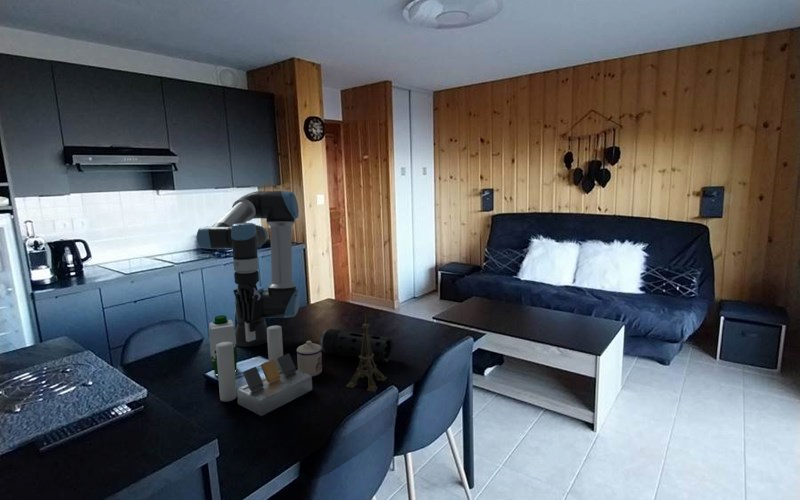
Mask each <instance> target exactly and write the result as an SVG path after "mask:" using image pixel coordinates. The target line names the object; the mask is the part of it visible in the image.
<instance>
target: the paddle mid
mask: <svg viewBox="0 0 800 500" xmlns="http://www.w3.org/2000/svg"><path fill="white" fill-rule="evenodd" d="M260 367H261V370H262V372H263V375H264V377H266V379H267V382H268V383H269V384H270V383H273V382H275V381H277V380H279V379H281V377H280V374H279V372H278V370H277V367H276V365H275V363H274V361H273V360H271V361H269V360H268V361H266V362H263V363H262V364H260Z"/></svg>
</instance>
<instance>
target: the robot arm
mask: <svg viewBox="0 0 800 500" xmlns="http://www.w3.org/2000/svg"><path fill="white" fill-rule="evenodd" d="M299 211H300V210H299V204H298V200H297V197H296V195H295V193H294V192H292V191H291V190H258V191H257V190H256V191H253V192H249V193H247V194H245V195H243V196H241V197H239V198H238V199H236V200H235V201H234V202H233V204H232V206H231V208H230V210H228V211H227V212H226V213H225V214H224V215H222V216H221V218H219V219H218V220H217V221H216V222H215V223H214V224H213V225H211V226H200V227H199V228H198V230H197V231H196V241H197V245H198V246H199V248H201V249H210V250H212V249H213V250H214V249H215V250H216V249H232V259H233V263H232V264H233V270H234V273H233V275H234V277H233V278H234V283H235V285H237V288H236V289H233V293H234V300H235V301H234V304H235V314H236V315H235V316H236V317H235V318H236V327H235V332H236V333H235V335H236V347H242V348H243V347H244V348H249V347H257V346H258V347H259V346H261V345H264V344H266V343H267V344H268V341H267V328H268V327H269V326H268V325H267V323H266V319H268V318H269V319H271V318H274V319H275V318H284V319H286V318H295V316H296V315H297V313H298V311H299V308H300V302H301V290H299V289H297V285H296V284H295V283H294V282H293V262H292V261H293V260H292V259H293V258H292V256H293V255H292V254H293V253H292V251H293V250H292V226H293V225H294V224H295V222H296V219H298V218H299ZM253 219H262V220H263V219H265V220H266V224H267V225H268V226H269V227H270V265H271V266H270V267H271V275H270V276H271V282H270V284H269V285H268V286H267V290H265V288H264V287H263V286H260V285H257V283H259V281H260V274H259V273H260V271H259V257H258V255H259V254H258V248H260V247H262V246H264V244H265V243H266V242H267V240H268V238H269V237H268V231H267V230H266V229H265V228H264V227H263V226H261V225H259V224H257V225H256V224H255V223H253V222H250V221H252V220H253Z"/></svg>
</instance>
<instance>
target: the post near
mask: <svg viewBox="0 0 800 500" xmlns="http://www.w3.org/2000/svg"><path fill="white" fill-rule="evenodd" d="M216 354H217V366H218V376H217V377H218V389H219V399H220V401H221V402H231V401H234V400H235V399H237V379H236V373H235V365H234V351H233V343H232V342H222V343H219V344H217V345H216Z"/></svg>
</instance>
